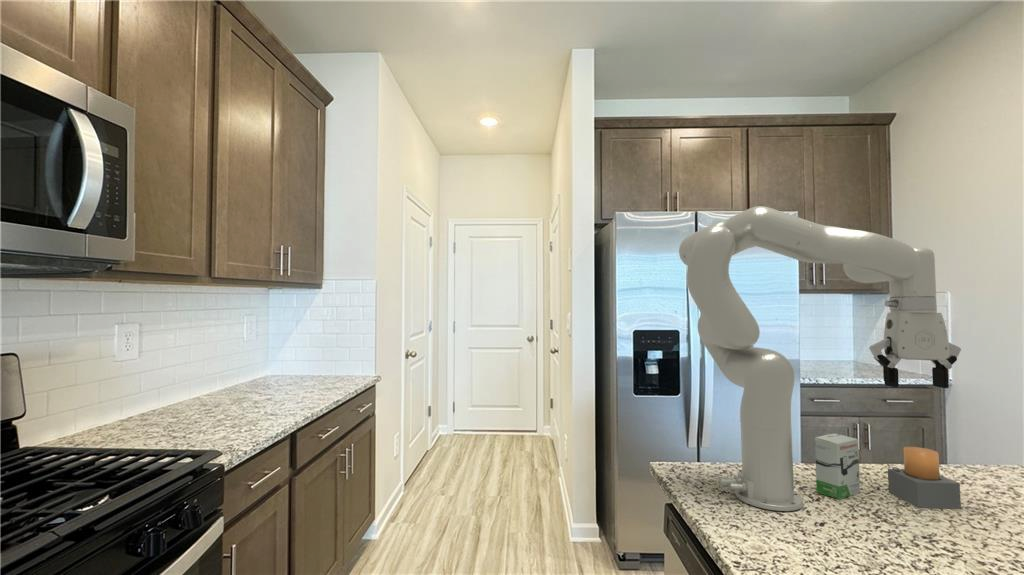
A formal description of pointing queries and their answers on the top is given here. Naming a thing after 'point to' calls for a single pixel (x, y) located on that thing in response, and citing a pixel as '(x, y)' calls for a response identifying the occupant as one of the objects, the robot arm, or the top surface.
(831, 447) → the ink box
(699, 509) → the top surface
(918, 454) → the cap
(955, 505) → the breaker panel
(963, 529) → the top surface
